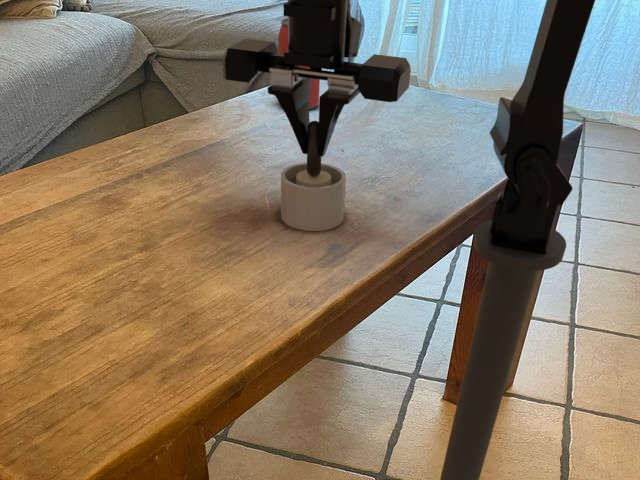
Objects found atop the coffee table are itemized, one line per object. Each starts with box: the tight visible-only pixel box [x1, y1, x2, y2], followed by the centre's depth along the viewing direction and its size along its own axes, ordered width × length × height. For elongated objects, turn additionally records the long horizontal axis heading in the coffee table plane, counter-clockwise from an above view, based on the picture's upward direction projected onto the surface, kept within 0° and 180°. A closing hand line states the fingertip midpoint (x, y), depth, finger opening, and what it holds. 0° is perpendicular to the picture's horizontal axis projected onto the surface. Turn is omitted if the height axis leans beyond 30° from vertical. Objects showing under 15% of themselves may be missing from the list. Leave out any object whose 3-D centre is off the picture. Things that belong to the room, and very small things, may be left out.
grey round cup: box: [280, 162, 347, 232], centre depth 77 cm, size 7×7×5 cm
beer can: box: [277, 17, 321, 110], centre depth 105 cm, size 7×7×12 cm
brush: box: [296, 120, 331, 187], centre depth 75 cm, size 4×4×10 cm
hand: (314, 154), depth 74 cm, fingers closed on brush
